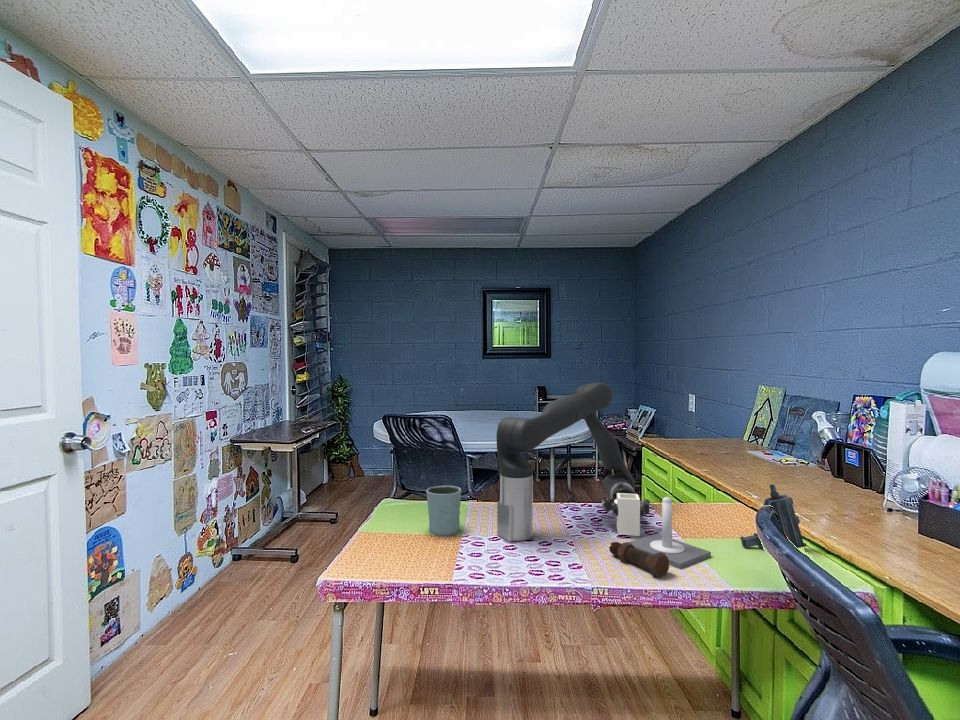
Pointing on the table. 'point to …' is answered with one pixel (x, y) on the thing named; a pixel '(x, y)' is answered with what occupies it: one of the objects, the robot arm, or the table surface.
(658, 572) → the bolt
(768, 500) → the gun
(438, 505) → the drinking glass
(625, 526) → the collar
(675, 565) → the post stand
